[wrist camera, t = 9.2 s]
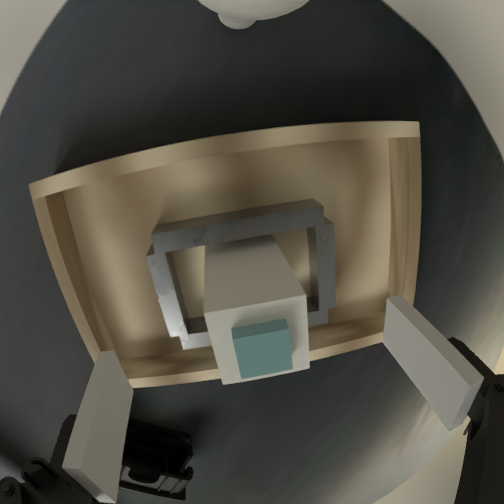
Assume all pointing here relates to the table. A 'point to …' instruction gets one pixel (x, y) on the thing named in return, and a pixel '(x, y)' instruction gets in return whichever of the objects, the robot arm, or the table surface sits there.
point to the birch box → (225, 200)
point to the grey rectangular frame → (236, 228)
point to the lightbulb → (250, 10)
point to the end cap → (155, 461)
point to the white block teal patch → (254, 310)
